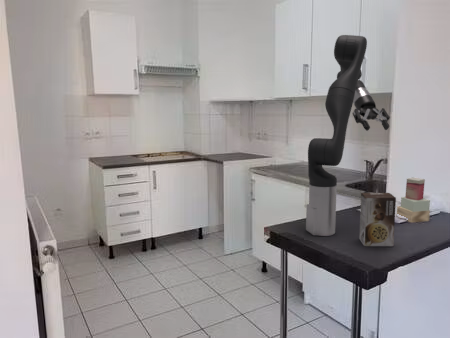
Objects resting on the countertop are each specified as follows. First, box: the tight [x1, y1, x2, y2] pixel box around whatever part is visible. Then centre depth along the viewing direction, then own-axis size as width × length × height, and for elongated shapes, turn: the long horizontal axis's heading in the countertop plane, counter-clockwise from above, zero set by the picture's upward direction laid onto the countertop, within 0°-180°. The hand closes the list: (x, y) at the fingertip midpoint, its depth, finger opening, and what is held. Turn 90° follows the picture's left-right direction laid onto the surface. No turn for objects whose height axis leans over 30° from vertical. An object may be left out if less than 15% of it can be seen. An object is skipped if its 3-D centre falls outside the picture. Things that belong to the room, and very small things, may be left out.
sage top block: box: [400, 196, 431, 212], centre depth 138 cm, size 7×7×4 cm
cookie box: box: [358, 192, 397, 247], centre depth 114 cm, size 9×6×16 cm
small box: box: [404, 176, 426, 200], centre depth 137 cm, size 5×4×8 cm
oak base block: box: [396, 205, 431, 223], centre depth 139 cm, size 8×8×4 cm
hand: (377, 129), depth 143 cm, fingers open, 8 cm apart
